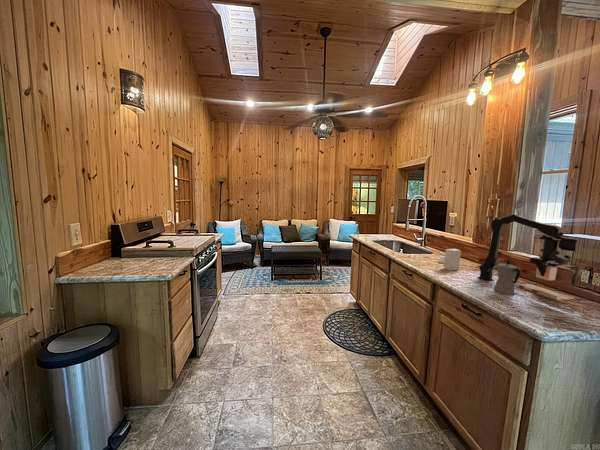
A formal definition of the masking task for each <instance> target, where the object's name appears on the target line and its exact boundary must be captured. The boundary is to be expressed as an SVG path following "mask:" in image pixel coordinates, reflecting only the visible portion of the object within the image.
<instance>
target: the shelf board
mask: <svg viewBox="0 0 600 450" xmlns="http://www.w3.org/2000/svg"><path fill="white" fill-rule="evenodd" d="M514 287H516V288H519V289H523V290H526V291H529V292H532V293H533V294H534V293H535V294H537V295H540V296H543V297H546V298H550V299H552V300H554V301H556V300H557V301H558V300H570V299H573V300H574V297H572V296H569V295H567V294H564V293H560V292H557V291H553V290H551V289H547V288H545V287H541V286H538V285H534V284H531V283H527V284H522V283H521V284H520V283H517V282H516V283H514Z"/></svg>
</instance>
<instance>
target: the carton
mask: <svg viewBox="0 0 600 450" xmlns="http://www.w3.org/2000/svg"><path fill="white" fill-rule="evenodd" d="M557 271H558V266H557V267H553V266H548V267H547V268H546V271H545V274H544V276H541V274H540V272H539V270H538V268H537V267H536V274H535V277H536V278H540V279H541V280H542V279H543V280H546V281H556V277H557V273H558V272H557Z"/></svg>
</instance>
